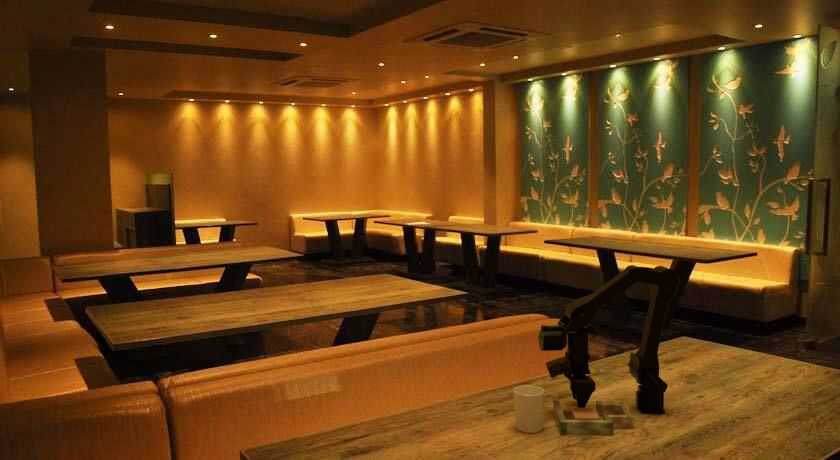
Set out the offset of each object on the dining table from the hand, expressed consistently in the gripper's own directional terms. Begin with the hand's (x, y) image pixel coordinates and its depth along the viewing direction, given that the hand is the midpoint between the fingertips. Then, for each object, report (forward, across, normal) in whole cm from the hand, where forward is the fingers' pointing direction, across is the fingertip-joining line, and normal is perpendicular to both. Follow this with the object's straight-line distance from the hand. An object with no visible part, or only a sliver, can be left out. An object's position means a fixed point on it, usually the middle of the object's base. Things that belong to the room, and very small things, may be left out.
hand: (577, 405), depth 181 cm
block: (+2, +10, 0) cm, 10 cm away
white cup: (+2, +11, -14) cm, 18 cm away
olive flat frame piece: (+2, +7, +3) cm, 8 cm away
